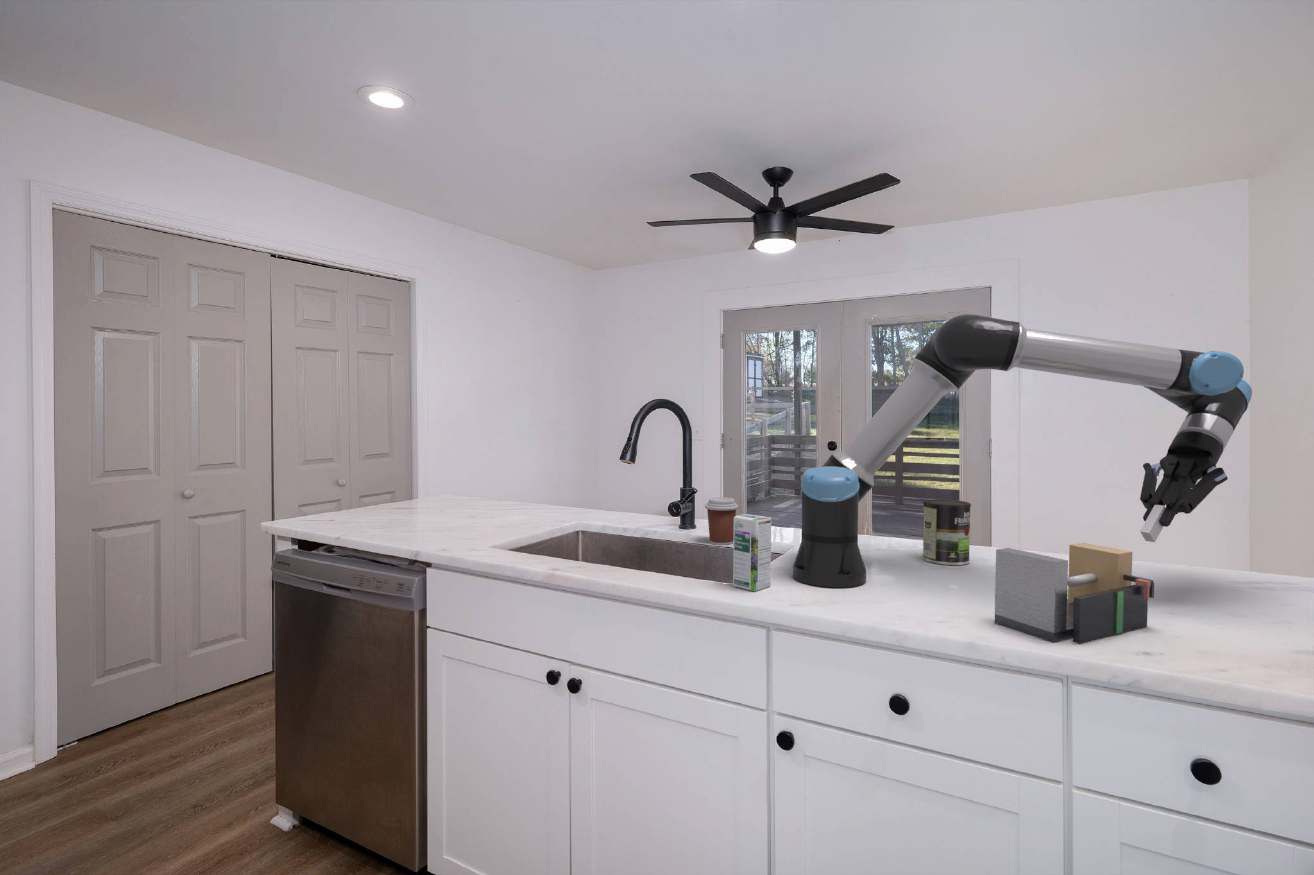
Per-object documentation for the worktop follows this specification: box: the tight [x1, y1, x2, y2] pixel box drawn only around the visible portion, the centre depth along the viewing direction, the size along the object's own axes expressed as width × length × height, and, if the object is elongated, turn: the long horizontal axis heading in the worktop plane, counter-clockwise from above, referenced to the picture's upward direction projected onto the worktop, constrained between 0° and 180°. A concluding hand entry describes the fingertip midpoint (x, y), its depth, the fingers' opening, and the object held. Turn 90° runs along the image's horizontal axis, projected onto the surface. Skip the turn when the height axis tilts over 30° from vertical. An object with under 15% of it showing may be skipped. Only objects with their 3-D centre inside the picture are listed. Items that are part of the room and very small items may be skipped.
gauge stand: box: [994, 547, 1149, 645], centre depth 104 cm, size 22×12×12 cm, turn 115°
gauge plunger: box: [1067, 542, 1155, 602], centre depth 105 cm, size 10×12×10 cm
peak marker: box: [1134, 579, 1151, 600], centre depth 101 cm, size 1×2×3 cm, turn 25°
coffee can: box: [922, 499, 972, 566], centre depth 148 cm, size 10×10×14 cm
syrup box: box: [732, 513, 772, 593], centre depth 127 cm, size 6×6×14 cm
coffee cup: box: [704, 496, 740, 546], centre depth 169 cm, size 9×9×12 cm
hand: (1147, 536), depth 113 cm, fingers closed
